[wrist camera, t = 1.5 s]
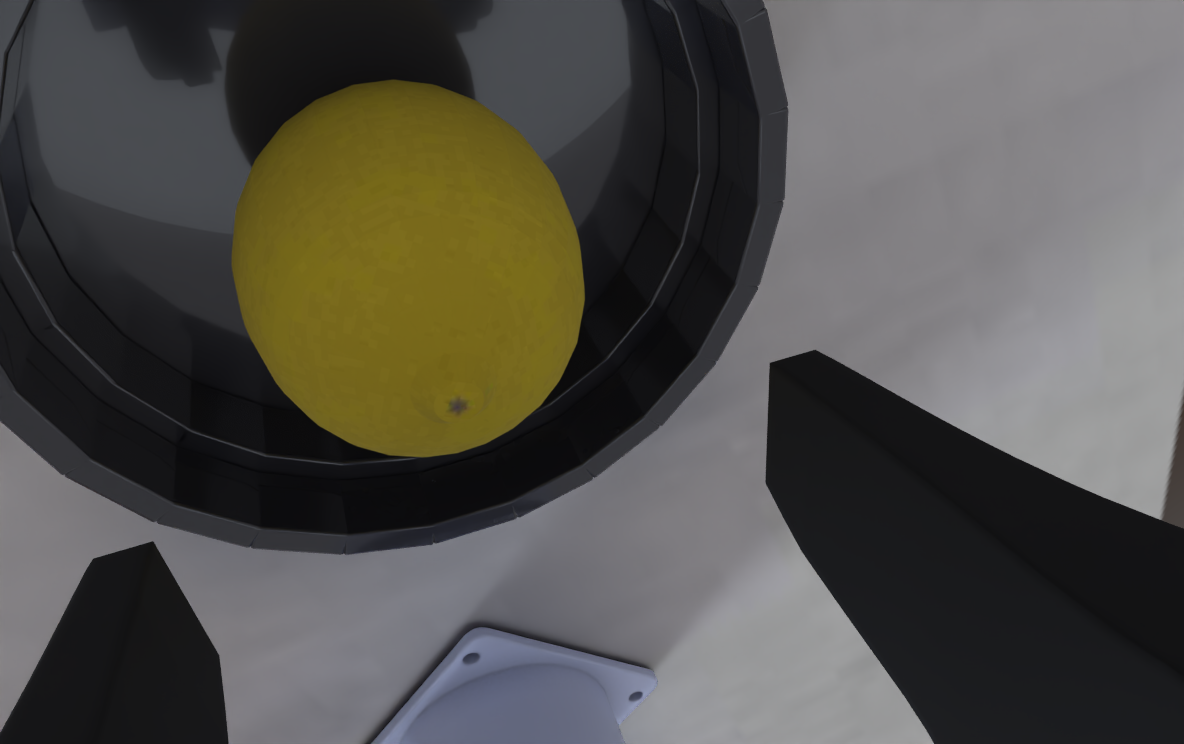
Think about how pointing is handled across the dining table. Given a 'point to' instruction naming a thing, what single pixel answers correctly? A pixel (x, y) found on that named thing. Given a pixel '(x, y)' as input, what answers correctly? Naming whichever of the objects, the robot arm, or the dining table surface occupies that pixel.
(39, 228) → the pan
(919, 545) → the robot arm
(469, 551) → the dining table surface
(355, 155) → the lemon
